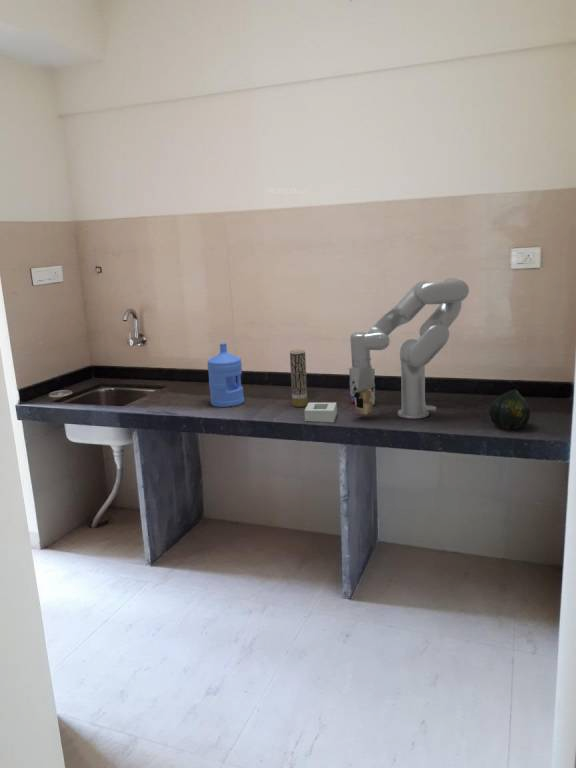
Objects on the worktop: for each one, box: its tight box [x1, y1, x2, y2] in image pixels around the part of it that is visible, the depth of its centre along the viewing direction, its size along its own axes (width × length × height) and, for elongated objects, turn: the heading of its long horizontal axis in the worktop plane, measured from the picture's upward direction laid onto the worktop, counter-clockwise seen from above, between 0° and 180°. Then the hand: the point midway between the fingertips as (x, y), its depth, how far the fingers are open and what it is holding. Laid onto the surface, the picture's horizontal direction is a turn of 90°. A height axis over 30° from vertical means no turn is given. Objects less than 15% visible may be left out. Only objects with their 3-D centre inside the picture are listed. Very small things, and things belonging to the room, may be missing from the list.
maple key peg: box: [354, 388, 374, 415], centre depth 262 cm, size 4×6×10 cm, turn 40°
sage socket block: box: [303, 402, 338, 423], centre depth 266 cm, size 12×12×5 cm
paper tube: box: [289, 349, 308, 408], centre depth 284 cm, size 7×7×25 cm
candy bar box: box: [348, 366, 376, 406], centre depth 283 cm, size 11×5×16 cm, turn 42°
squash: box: [489, 388, 531, 431], centre depth 243 cm, size 14×15×15 cm
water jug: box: [207, 343, 245, 408], centre depth 294 cm, size 16×16×28 cm
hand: (363, 405), depth 263 cm, fingers closed on maple key peg, 4 cm apart
